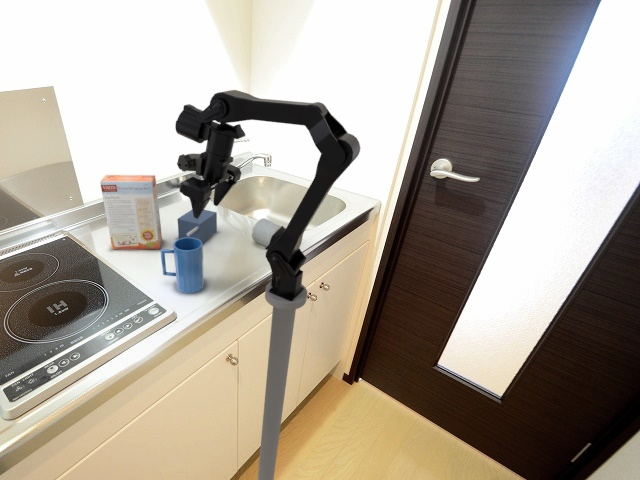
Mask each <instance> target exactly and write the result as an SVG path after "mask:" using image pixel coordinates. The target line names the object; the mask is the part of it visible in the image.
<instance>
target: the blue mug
mask: <svg viewBox="0 0 640 480" xmlns="http://www.w3.org/2000/svg"><path fill="white" fill-rule="evenodd" d="M203 244H204V243H203ZM203 244H202V241H201V240H199V239H197V238H191V237H187V238H181V239H179V238H178V239H176V240H175V241H174V242H173V244H172V247H173V249H165V248H161V249H160V258H161V269H162V275H163V276H165V277H175V283H176V289H177V290H178V291H179V292H180V293H183V294H196V293H198V292H201V290H203V288H204V286H205V273H204V270H205V269H204V246H203ZM166 254H173V259H174V272H171V271H167V264H166Z"/></svg>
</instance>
